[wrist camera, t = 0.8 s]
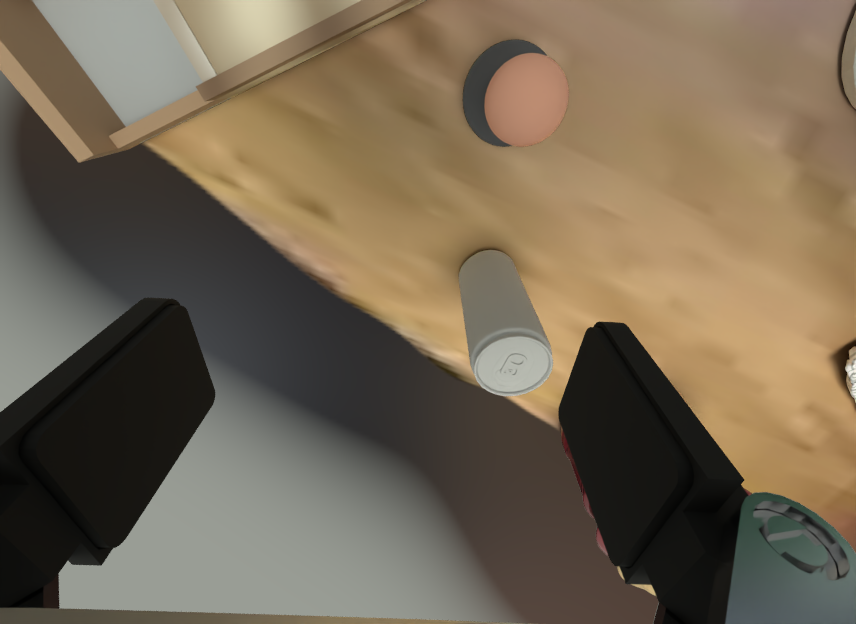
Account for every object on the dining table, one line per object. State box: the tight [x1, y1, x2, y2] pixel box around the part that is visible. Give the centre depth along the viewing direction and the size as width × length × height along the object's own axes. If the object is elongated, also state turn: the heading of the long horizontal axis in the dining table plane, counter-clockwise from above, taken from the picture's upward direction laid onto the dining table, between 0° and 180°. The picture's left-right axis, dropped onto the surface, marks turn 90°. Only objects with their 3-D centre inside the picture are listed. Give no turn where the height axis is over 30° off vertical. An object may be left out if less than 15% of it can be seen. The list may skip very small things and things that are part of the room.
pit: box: [0, 0, 230, 162], centre depth 21 cm, size 9×9×4 cm
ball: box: [484, 53, 569, 147], centre depth 20 cm, size 4×4×4 cm
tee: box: [463, 40, 547, 147], centre depth 23 cm, size 6×6×3 cm
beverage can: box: [459, 250, 553, 396], centre depth 27 cm, size 5×5×12 cm
